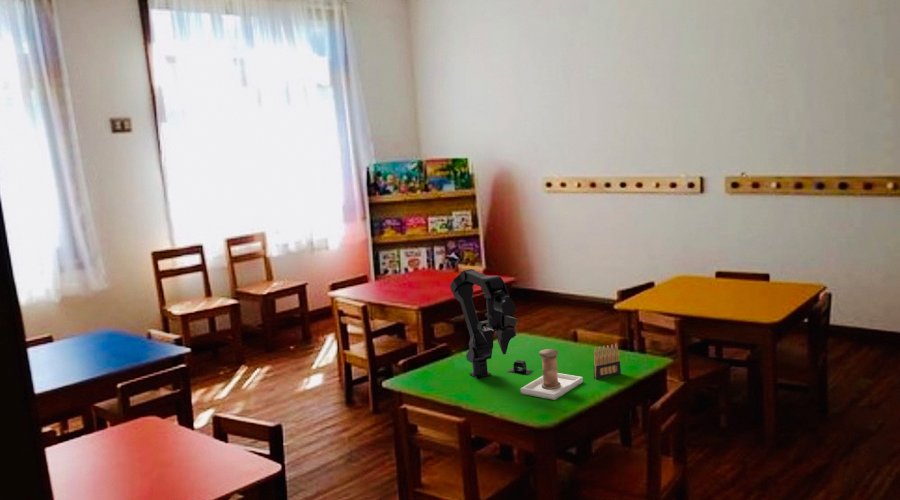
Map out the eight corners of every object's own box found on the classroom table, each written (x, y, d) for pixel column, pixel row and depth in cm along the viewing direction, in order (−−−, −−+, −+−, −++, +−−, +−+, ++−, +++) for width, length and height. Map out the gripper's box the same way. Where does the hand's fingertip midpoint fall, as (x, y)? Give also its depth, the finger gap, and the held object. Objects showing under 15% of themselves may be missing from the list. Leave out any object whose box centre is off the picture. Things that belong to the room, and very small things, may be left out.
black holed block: (538, 371, 281) (537, 360, 281) (529, 377, 275) (529, 366, 275) (511, 368, 288) (510, 357, 288) (501, 373, 282) (501, 362, 282)
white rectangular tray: (554, 400, 249) (554, 394, 248) (520, 393, 258) (520, 388, 257) (582, 382, 264) (582, 377, 263) (550, 376, 273) (549, 371, 272)
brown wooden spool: (538, 388, 259) (536, 353, 257) (546, 382, 265) (543, 348, 263) (556, 390, 256) (553, 355, 254) (563, 384, 262) (561, 349, 260)
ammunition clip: (596, 379, 266) (594, 348, 264) (593, 378, 267) (592, 347, 265) (621, 374, 269) (619, 343, 267) (618, 372, 271) (616, 342, 269)
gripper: (527, 310, 259) (530, 352, 262) (500, 302, 276) (503, 341, 278) (500, 316, 254) (504, 359, 257) (475, 307, 271) (478, 347, 273)
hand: (497, 351), depth 266 cm, fingers open, 9 cm apart
